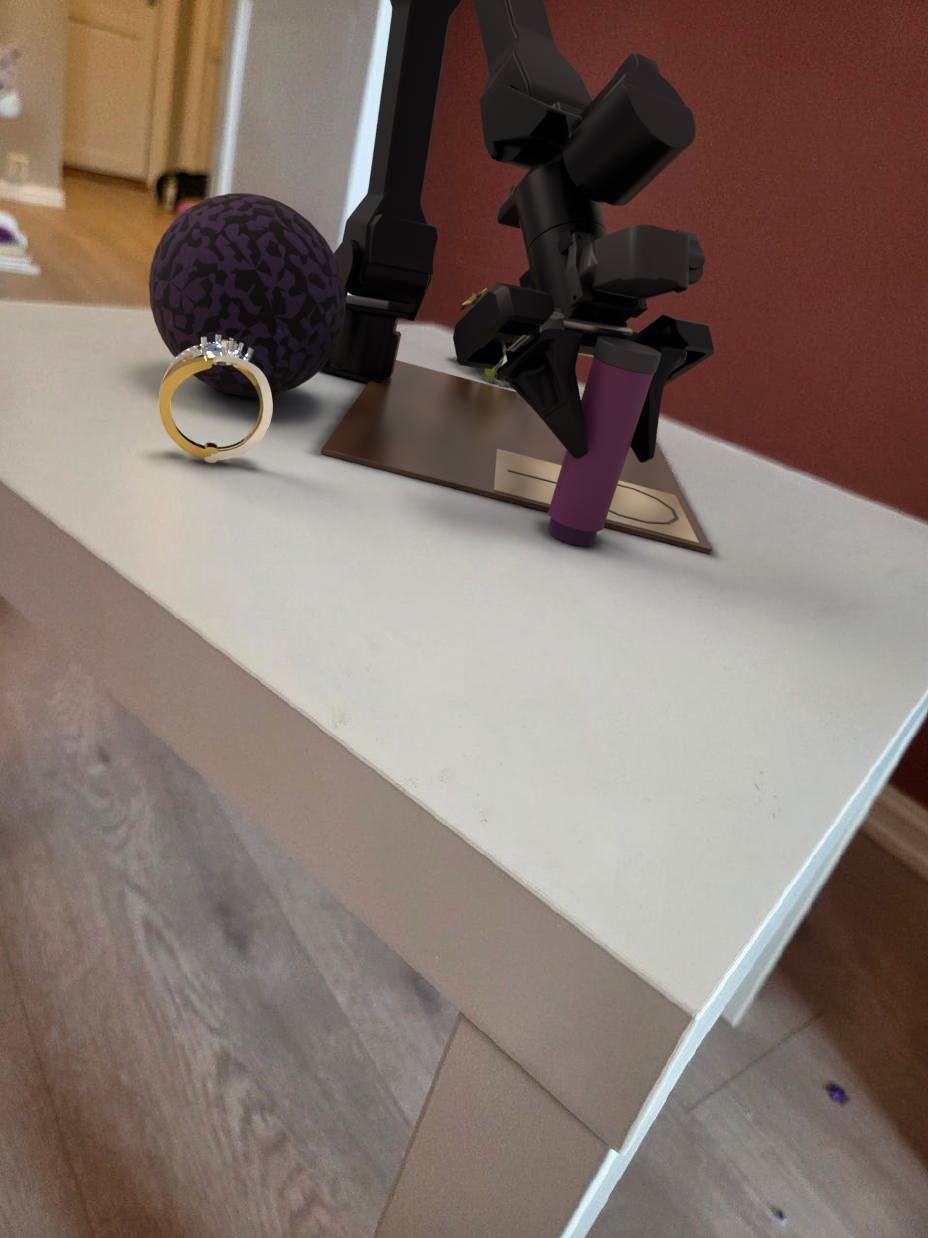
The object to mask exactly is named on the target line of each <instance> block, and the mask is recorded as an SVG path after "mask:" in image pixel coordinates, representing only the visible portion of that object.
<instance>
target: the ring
mask: <svg viewBox="0 0 928 1238" xmlns="http://www.w3.org/2000/svg"><path fill="white" fill-rule="evenodd" d="M221 337H222V335H221V334H217V333H216V337H215V342H207V337H201V344H198V345H195V346H193V347H190V348H188V349H186V350H184V351H183V352H181V353H180V354H179V355H178V356H177V357H176V358H175V357H174V359H173V360H172V361H171V363H170V364H169V366H168V367H167V369H166V371H165V373H164V375H163V378H162V379H161V383H160V384H161V385H160V387H159V391H158V392H159V393H158V409H159V410H158V411H159V416H160V419H161V422H162V425H163V427H164V430H165V431H166V433H167V435H168V436H169V438H170V439H171V440H172V441H173V442H174V444H176V445H177V446H178V447H180V448H181V449H182V450H183V451H185V452H187V453H189V454H191V455H193V456H195V457H198V458H202V459H203V460H204V462H206V463H208V464H209V463H210V464H215V463H217V462H218V461H222V460H231V459H234V458H237V457H240V456H243V455H244V454H246V453H248V452H249V451H251V450H252V449H253V448H254V447H256V445H258V444H259V443H260V441H261V440H262V439H263V437H264V436H265V434H266V433H267V431H268V429H269V427H270V425H271V421H272V417H273V409H274V408H273V395H271V390H270V386H269V384H268V381H267V379H266V377H265V375H264V373H263V372H262V371H261V369H260V368H259V367H258V366H257V365H256V364H254V363H253V362H252V361H250V358H251V356H252V354H253V351H254V349H253V348H251V347H249V349H248V351H247V354H245V353H242V349H243V346H244V343H243V342H240V343H239V346H238V344H237V341H235V340H234V338H231V337H230V339H229V340H222V341H221ZM237 346H238V349H237ZM199 355H204V357H198V358H195V357H197V356H199ZM193 358H194V359H193ZM212 364H215V365H231V364H232V365H233V366H234V367H235V368H237V369H238V370H240V371H241V372H242V373H244V374H245V375H246V376H247V377H248V378H249V379H250V381H251V382H252V383H253V385H254V386H255V388H256V390H257V392H258V395H259V397H258V400H259V412H258V416H257V420H256V422H255V424H254V426H253V427H252V429H251V431H250V432H249V433H248V434H247V435H246V436H245V437H244V438H242V439H241V440H240V441H237V442H236V443H233V444H230V445H225V446H218V444H216V443H214V442H206V443H204V444H201V443H198V442H195V441H194V440H192V439H190V438H189V437H187V436H186V435H185V434H183V433H184V432H182V431H181V430H180V429H179V427H178V426H177V425H176V423H175V420H174V419H173V415H172V409H171V402H172V399H173V395H174V394H175V391H176V390H177V388H178V387H179V386H180V385H181V384H182V383H183V382H184V381H185V380H186V379H188V378H190V377H191V376H194V375H193V374H195V373H197V372H200V371H202V370H206V369H209V368H211V367H212Z"/></svg>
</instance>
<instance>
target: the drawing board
mask: <svg viewBox="0 0 928 1238" xmlns="http://www.w3.org/2000/svg"><path fill="white" fill-rule="evenodd" d="M658 445H659V444H658V443H657V442H656V446H655V454H654V457H653V458H652V459H651V460H649V461H647V462H646V463H641V462H639V460H638V459H637V457H636V455H635V454H634V452H633V450H632V449H631V447H630V448H629V451H628V454H627V457H626V460H625V463H624V466H623V469H622V472H621V475H620V478H619V481H618V484H617V487H616V490H615V493H614V496H613V499H612V502H611V505H610V509H609V512H608V515H607V518H606V521H605V524H604V527H603V528H609V529H612V530H616V531H619V532H624V533H628V534H631V535H635V536H639V537H642V538H648V539H651V540H655V541H658V542H663V543H666V544H671V545H674V546H678V547H682V548H686V549H690V550H693V551H698V552H701V553H705V554H708V555H710V554H712V550H713V547H712V546H711V545H710V543H709V541H708V539H707V537H706V535H705V533H704V531H703V529H702V527H701V525H700V523H699V522H698V520H697V518H696V516H695V514H694V512H693V510H692V508H691V506H690V505H689V502H688V501H687V498H686V497H685V495H684V493H683V491H682V490H681V487H680V485H679V483H678V481H677V480H676V478H675V476H674V474H673V472H672V470H671V468H670V466H669V464H668V462H667V461H666V459H665V456H664V455H663V453H662V451H661V449H660V446H658ZM566 450H567V449H566V448H565V447H564V446H563V444H562V443H561V442H560V441H559V440H558V438H557V437H556V436H555V435H554V433H553V432H552V431H551V430H550V429H549V427H548V426H547V425H546V424H545V422H544V421H543V420H542V419H541V418H540V417H539V415H538V414H537V413H536V412H535V411H534V410H533V409H532V407H531V406H530V405H529V404H528V403H527V402H526V401H525V400H524V399H523V398H522V397H521V396H520V395H519V394H518V393H517V392H516V391H515V390H510V389H506V388H502V387H499V386H495V385H492V384H488V383H484V382H480V381H477V380H473V379H469V378H465V377H461V376H458V375H454V374H451V373H447V372H443V371H439V370H435V369H432V368H428V367H424V366H420V365H416V364H413V363H409V362H405V361H402V360H401V361H400V360H397V359H396V362H395V367H394V372H393V373H392V375H391V377H389V378H386V379H385V380H384V382H383V383H377V382H373V381H369V382H367V383H366V385H365V387H364V388H363V389H362V391H361V392H360V394H359V395H358V397H357V398H356V399H355V401H354V402H353V403H352V405H351V406H350V408H348V411H347V412H346V413H345V415H344V416H343V417H342V418H341V420H340V422H339V423H338V425H337V426H336V428H335V429H334V430H333V432H332V433H331V435H330V436H329V438H328V439H327V440H326V442H325V444H324V445H323V446H322V448H321V449H320V454H322V455H325V456H330V457H333V458H337V459H341V460H344V461H349V462H351V463H355V464H360V465H364V466H368V467H371V468H376V469H379V470H383V471H386V472H391V473H395V474H398V475H403V476H406V477H411V478H413V479H414V478H415V479H419V480H423V481H425V482H430V483H434V484H438V485H442V486H445V487H449V488H453V489H457V490H461V491H465V492H468V493H472V494H476V495H479V496H484V497H488V498H493V499H495V500H499V501H504V502H507V503H511V504H515V505H519V506H523V507H527V508H531V509H535V510H539V511H543V512H546V513H548V511H549V507H550V504H551V500H552V497H553V494H554V490H555V487H556V483H557V480H558V477H559V473H560V470H561V467H562V463H563V460H564V456H565V453H566Z"/></svg>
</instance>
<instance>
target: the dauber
mask: <svg viewBox="0 0 928 1238" xmlns="http://www.w3.org/2000/svg"><path fill="white" fill-rule="evenodd" d="M593 356H594V357H592V361H591V365H590V367H589V368H590V369H589V372H588V375H587V379H586V382H585V386H584V389H583V392H582V396H581V403H582V409H583V414H584V419H585V424H586V430H587V441H588V453H587V454H586V455H585V456H583V457H582V458H580V459H575V458H573V457H572V455H571V454H570V453H569V452H568V451H567V450H566V453H565V456H564V460H563V463H562V467H561V470H560V473H559V477H558V480H557V483H556V487H555V490H554V494H553V497H552V500H551V504H550V507H549V511H548V512H547V514H548V516H549V517H550V519H549V522H548V526H547V532H548V534H549V535H551V536H552V537H553V538H555V539H556V540H559V541H561V542H563V543H566V544H570V545H573V546H579V547H580V546H581V547H588V546H589V547H590V546H592V545H593V544H594V543H595V540H596V537H597V534H598V532H600V531H602V530H603V529H604V528H605V527H604V524H605V521H606V518H607V515H608V512H609V509H610V505H611V502H612V499H613V496H614V493H615V490H616V487H617V484H618V481H619V478H620V475H621V472H622V469H623V466H624V463H625V460H626V457H627V454H628V451H629V448H630V444H631V441H632V438H633V435H634V432H635V429H636V426H637V423H638V420H639V417H640V414H641V411H642V408H643V405H644V402H645V399H646V396H647V393H648V390H649V387H650V383H651V380H652V377H653V374H654V373H656V370H657V367H658V364H659V361H660V358H661V353H660V352H659V351H657V350H655V349H652V348H650V347H647V346H644V345H641V344H638V343H635V342H632V341H628V340H624V339H620V338H615V337H609V336H599V337H598V339H597V342H596V346H595V349H594V353H593Z"/></svg>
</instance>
